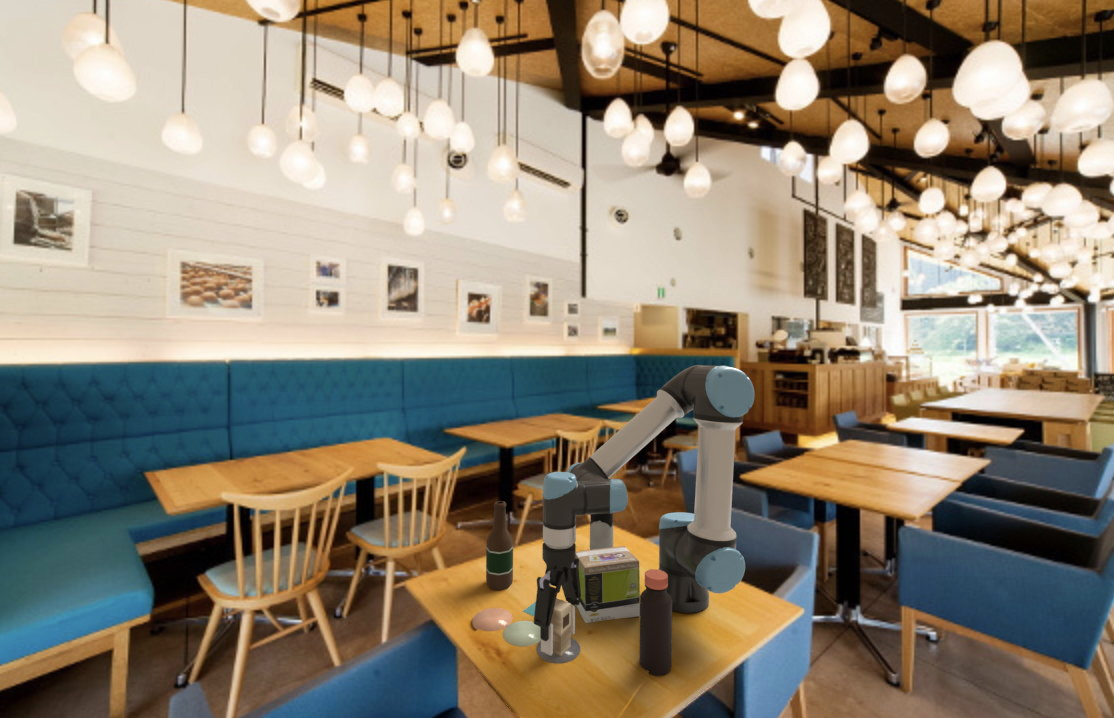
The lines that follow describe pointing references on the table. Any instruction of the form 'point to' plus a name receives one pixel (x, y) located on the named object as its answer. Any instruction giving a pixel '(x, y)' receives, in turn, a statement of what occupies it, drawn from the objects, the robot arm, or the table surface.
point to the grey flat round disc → (565, 658)
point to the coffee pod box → (608, 584)
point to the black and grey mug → (601, 531)
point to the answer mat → (530, 609)
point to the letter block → (561, 627)
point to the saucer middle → (522, 633)
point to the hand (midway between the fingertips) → (558, 641)
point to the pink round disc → (492, 619)
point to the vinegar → (656, 624)
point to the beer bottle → (499, 551)
